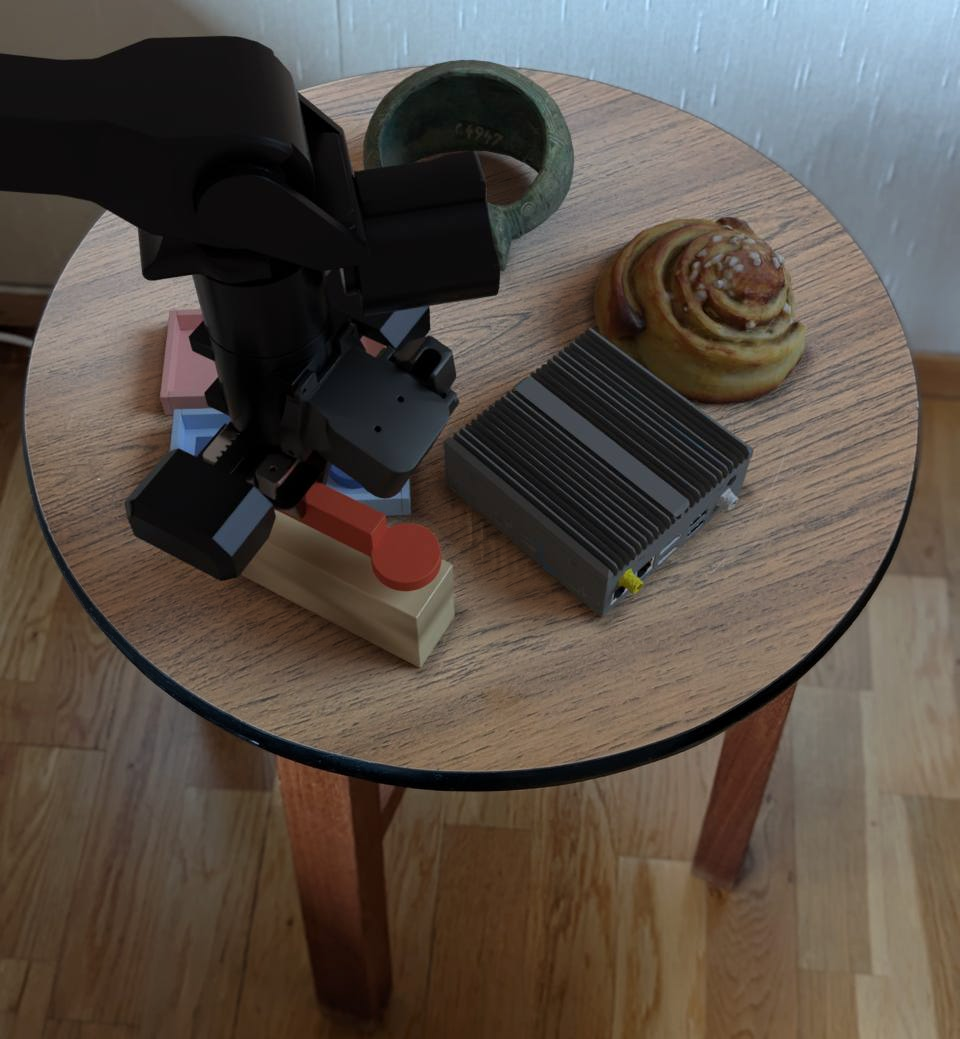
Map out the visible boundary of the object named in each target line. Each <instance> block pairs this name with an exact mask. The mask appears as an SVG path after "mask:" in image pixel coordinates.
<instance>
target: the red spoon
mask: <svg viewBox="0 0 960 1039" xmlns="http://www.w3.org/2000/svg"><path fill="white" fill-rule="evenodd" d="M277 511H279V510H277ZM279 512H281V513H283V514H285V515H287V516H289V517H291V518H293V519H295V520H297V521H299V522H301V523H303V524H305V525H307V526H309V527H311V528H313V529H315V530H317V531H319V532H321V533H323V534H325V535H327V536H329V537H331V538H333V539H335V540H337V541H339V542H341V543H343V544H345V545H347V546H349V547H351V548H353V549H355V550H357V551H359V552H361V553H363V554H365V555H367V556H369V557H371V563H372V569H373V572H374V574H375V576H376V577H377V579H378V580H379V581H380V582H381V583H382V584H384V585H385V586H387V587H389V588H391V589H394V590H397V591H414V590H418V589H420V588H423V587H425V586H426V585H428V584H429V583H430V582H432V581H433V580H434V578H435V577H436V576H437V574H438V573H439V570H440V567H441V559H442V548H441V543H440V542H439V540H438V539H439V538H438V537H437V536H436V535H435V534H434V533H433V532H432V531H431V529H430V530H429V529H428V528H427V527H425V526H422V525H420V524H418V523H412V522H402V523H396V524H393V525H391V526H388V523H387V516H386V515H385V514H383V513H381V512H379V511H377V510H375V509H373V508H371V507H369V506H367V505H365V504H363V503H361V502H359V501H357V500H355V499H352V498H350V497H348V496H346V495H344V494H342V493H340V492H338V491H336V490H334V489H332V488H330V487H328V486H326V485H324V484H322V483H319V482H317V481H316V482H315V483H314V484H313V486H312V487H311V488H310V489H309V491H308V492H307V493H306V514H305V516H304V517H303V519H302V520H300V519H298V518H296V517H294V516H292V515H290V514H288V513H286V512H285V511H279Z"/></svg>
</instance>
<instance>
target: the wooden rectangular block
mask: <svg viewBox="0 0 960 1039" xmlns="http://www.w3.org/2000/svg"><path fill="white" fill-rule="evenodd" d="M274 510H275V509H274ZM275 514H276V519H275V521H274V524H273V527H272V530H271V533H270V536H269V538H268V539H267V541H266V542H265V543H264V545H263V546H262V547H261V548H260V550H259V551H258V552H257V554H256V555H255V556H254V557H253V559H252V560H251V561H250V563H249V564H248V565H247V566H246V568H245V569H244V570H243V572H242V573H241V575H242V576H243V577H244V578H246V579H247V580H250V581H252V582H254V583H256V584H257V585H259V586H262V587H263V588H265V589H267V590H269V591H271V592H273V593H275V594H276V595H278V596H280V597H282V598H284V599H287V600H288V601H290V602H292V603H294V604H296V605H297V606H300V607H302V608H304V609H305V610H308V611H310V612H312V613H313V614H315V615H317V616H319V617H320V618H323V619H325V620H326V621H329V622H331V623H333V624H335V625H336V626H339V627H340V628H342V629H343V630H345V631H348V632H350V633H352V634H354V635H356V636H358V637H360V638H362V639H364V640H366V641H367V642H369V643H371V644H373V645H374V646H377V647H379V648H380V649H383V650H384V651H386V652H388V653H390V654H392V655H394V656H395V657H398V658H400V659H401V660H404V661H406V662H408V663H410V664H411V665H414V666H415V667H417V668H422V667H423V665H424V664H425V662H426V661H427V659H428V658H429V656H430V655H431V654H432V652H433V650H434V649H435V647H436V645H437V644H438V643H439V641H440V640H441V638H442V637H443V635H444V633H445V632H446V630H447V629H448V627H449V626H450V624H451V623H452V621H453V620H454V619H455V588H454V586H455V584H454V564H452V563H451V562H449V561H446V560H444V559H442V558H441V567H440V570H439V573H438V574H437V576H436V577H435V578H434V580H433V581H432V582H430V583H429V584H428V585H426V586H425V587H423V588H420V589H418V590H414V591H397V590H394V589H391V588H389V587H387V586H385V585H384V584H382V583H381V582H380V581H379V580H378V579H377V577H376V576H375V574H374V572H373V569H372V563H371V557H369V556H367V555H365V554H363V553H361V552H359V551H357V550H355V549H353V548H351V547H349V546H347V545H345V544H343V543H341V542H339V541H337V540H335V539H333V538H331V537H329V536H327V535H325V534H323V533H321V532H319V531H317V530H315V529H313V528H311V527H309V526H307V525H305V524H303V523H301V522H299V521H297V520H295V519H293V518H291V517H289V516H287V515H285V514H283V513H281V512H279V511H277V510H275Z"/></svg>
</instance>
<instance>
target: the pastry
mask: <svg viewBox="0 0 960 1039" xmlns="http://www.w3.org/2000/svg"><path fill="white" fill-rule="evenodd" d="M785 263H786V259H785V257H784V256H782V255H780V253H777V252H775V250H773V248H772V247H771V245H769V243H767V241H764V240H763V239H762V238H761V237H760V236H759V235H757V234H756V233H755V231H754V230H753V229H752V227H751V226H750V225H749V224H748V222H747V221H746V220H744V219H742V218H741V219H740V218H739V217H735V216H734V217H733V216H722V217H720V218H718V219H717V220H715V221H713V220H711V219H704V218H677V219H674V220H670V221H666V222H663V223H659V224H656V225H655V226H651V227H649V228H646V229H643V230H641V231H640V232H638V233H637V234H636V235H635V236H634V237H633V238H631V240H630V241H628V242H627V243H626V244H624V245H623V246H622V247H621V248H619V249H618V250H617V251H616V253H615V254H614V255H613V256H612V257H611V258H610V259H609V261H608V262H607V263H606V265H605V266H604V268H603V270H602V272H601V274H600V276H599V277H598V280H597V283H596V285H595V288H594V292H593V301H592V302H593V303H592V304H593V314H594V317H595V322H596V325H597V328H598V331H599V334H600V335H601V336H602V337H604V338H605V339H606V340H608V341H609V342H610V343H612V344H613V345H614V346H616V347H617V348H618V349H620V350H621V351H623V352H624V353H625V354H627V355H628V356H629V357H631V358H632V359H633V360H635V361H636V362H637V363H639V364H640V365H641V366H643V367H644V368H645V369H647V370H648V371H649V372H651V373H652V374H653V375H655V376H656V377H657V378H659V379H660V380H662V381H663V382H664V383H666V384H667V385H668V386H670V387H671V388H672V389H674V390H675V391H676V392H678V393H679V394H680V395H682V396H683V397H684V398H688V399H690V400H695V401H699V402H705V403H713V404H716V403H717V404H727V403H728V404H729V403H736V402H746V401H748V402H749V401H754V400H757V399H760V398H762V397H764V396H765V397H766V396H767V395H770V394H771V393H773V392H774V391H776V390H777V389H778V387H780V385H781V384H782V382H784V381H785V380H787V379H788V378H789V377H790V376H791V374H792V373H793V371H794V370H795V368H796V367H797V365H798V364H799V363H800V362H801V360H802V358H803V355H804V352H805V349H806V341H805V338H806V333H807V328H806V325H804V324H803V323H802V322H800V321H795V322H794V317H795V314H796V297H795V293H794V289H793V286H792V277H791V275H790V274H789V272H788V270H787V269H786V267H785Z"/></svg>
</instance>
